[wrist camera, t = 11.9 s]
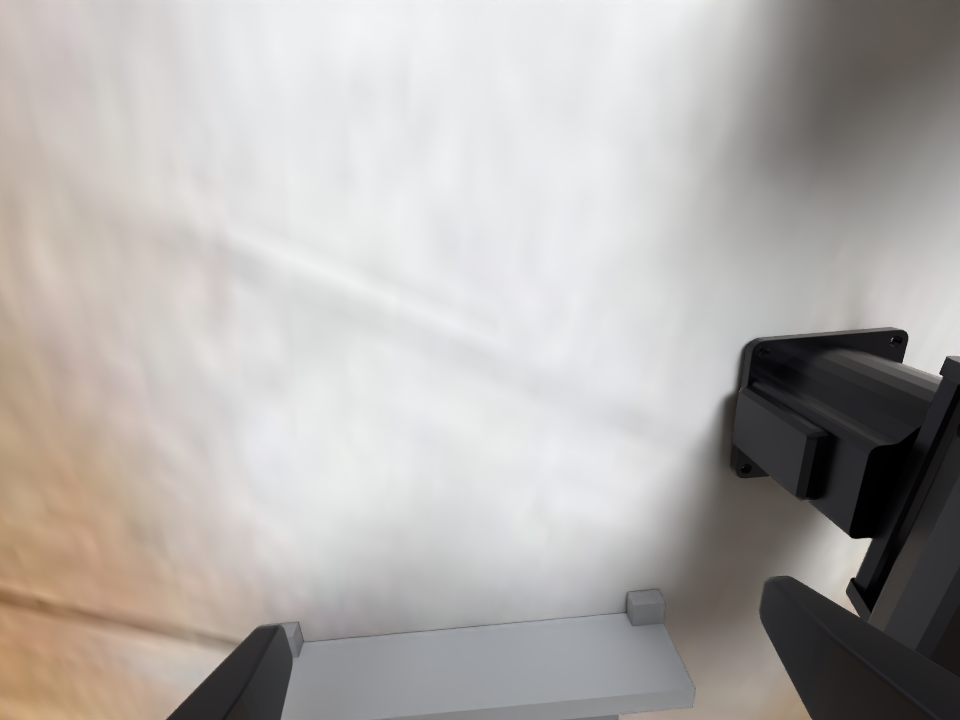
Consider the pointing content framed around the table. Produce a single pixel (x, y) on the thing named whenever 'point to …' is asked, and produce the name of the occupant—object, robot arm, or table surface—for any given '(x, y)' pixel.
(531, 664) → the long gray bar
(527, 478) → the table surface
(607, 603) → the table surface
